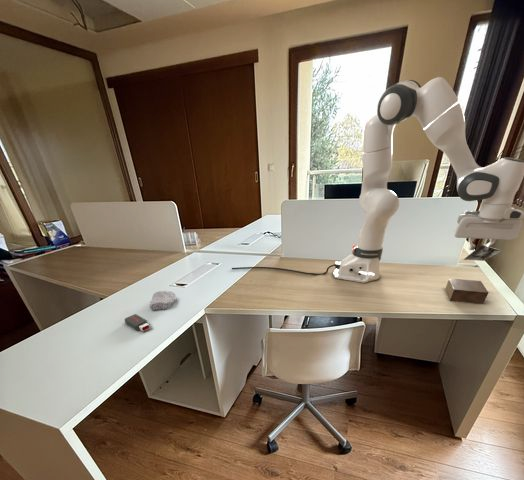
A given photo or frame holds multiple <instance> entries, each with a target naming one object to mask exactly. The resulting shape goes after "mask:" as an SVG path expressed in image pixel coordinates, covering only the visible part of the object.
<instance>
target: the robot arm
mask: <svg viewBox="0 0 524 480" xmlns="http://www.w3.org/2000/svg"><path fill="white" fill-rule="evenodd" d="M410 117H414V118H416V119H417V120H418V122H419V124H420V125H421V127H422V130H423V131H424V132H423V133H425V136H426V137H427V139H428V141H430V143H431V144H432V145H433V146H434V147H435V148H437V149H439V150H440V151H441V152H443V154H444V155H446V157H447V158H448V161H449V163H450V165H451V167H452V168H453V171H454V173H455V175H456V186H455V187H456V191H457V194H458V197H459V198H460V199H461V200H462V201H465V202H475V201H476V202H477V201H482V202H481V203H480V204H481V205H480V207H479V209H478V210H473V211H470V210H465V211H463V212H461V213H460V214H459V216H458V217H457V221H456V222H457V223H456V226H455V228H454V230H453V236H454V237H455V238H457V239H468V242H469V247H468V250H469V251H475V248H476V244H474V242H475V240H476V239H480V240H489V242H488V243H486V244H483V245H484V246H483V249H482V250H483V251H488V249H489V247H492V245H493V244H495V243H496V241H497V240H507V241H514V240H515V239H517V238H518V237H519V234H520V232H521V230H522V226H523V221H522V219H523V218H524V211H523V210H521V209H518V208H516V207H513V203H514V197H515V195H516V193H517V192H518V191H519V189H520V187H521V184H522V182H523V179H524V160H523V159H519V158H513V157H501V158H500V159H499V160H496V161H495V162H493V163H491V164H489V165H486V166H484V167H483V166H481V165H479V164H478V163H477V162H476V160H475V158H474V156H473V154H472V152H471V150H470V148H469V145H468V143H467V138H466V118H465V113H464V109H463V107H462V104H461V102H460V100H459V98H458V96H457V94H456V92H455V91H454V89H453V88H452V87H451V85H450V83H449V82H448V81H447V80H446V79H445V78H444V77H441V76H437V77H434V78H432V79H430V80H429V81H427V82H425V84H424V85H422V86H421V84H420V83H419V82H418V81H416V80H413V79H408V80H401V81H398V82H397V83H395V84H393V85H391V86H389V87H388V88H387V89H386V90H385V91H383V93H382V94H381V96H380V98H379V100H378V102H377V106H376V113H374V114H373V115H371V116H370V117H369V118H368V119H366V121H365V123H364V125H363V130H362V140H361V141H362V144H361V151H362V152H361V155H362V157H361V159H362V183H361V188H360V189H361V190H360V195H359V197H358V198H359V199H358V203H359V205H360V207H361V209H362V210H363V211H364V212H365V213H366V216H365V219H364V223H363V224H362V227H360V230H359V236H358V242H357V244H353V245H352V252H351V254H349V255H348V256H347V257H345V258H343V259H342V260H341V261H335V263H333V264H331V265H329V266H328V267H327V268H326V271H324V272H323V273H318V272H317V273H316V272H307V271H301V270H295V269H289V268H282V267H272V266H242V267H231V270H241V269H242V270H244V269H247V270H248V269H270V270H271V269H272V270H280V271H287V272H292V273H300V274H302V275H303V274H304V275H311V276H313V275H314V276H321V275H326V274H327V273H328V272H329V269H330V268H333V267H334V271H333V277H334V278H335V279H339V280H345V281H351V282H356V283H357V282H358V283H363V284H365V283H369V282H372V281H376V280H378V279H379V278H380V277H381V275H380V262H381V259H382V256H383V252H384V251H383V245H384V241H385V240H384V239H385V236H386V232H387V228H388V226H389V224H390V221H391V220H392V217H393V216H394V215H395V214H396V213H397V211H398V209H399V208H400V207H399V206H400V199H399V197H398V195H397V194H396V193H395V192H394V191H393V190H391V189H388V181H389V178H390V177H389V176H390V173H391V171H392V169H393V133H394V130H395V127H396V125H398V124H401V123H402V122H404V121H405V120H407V119H409V118H410Z"/></svg>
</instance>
